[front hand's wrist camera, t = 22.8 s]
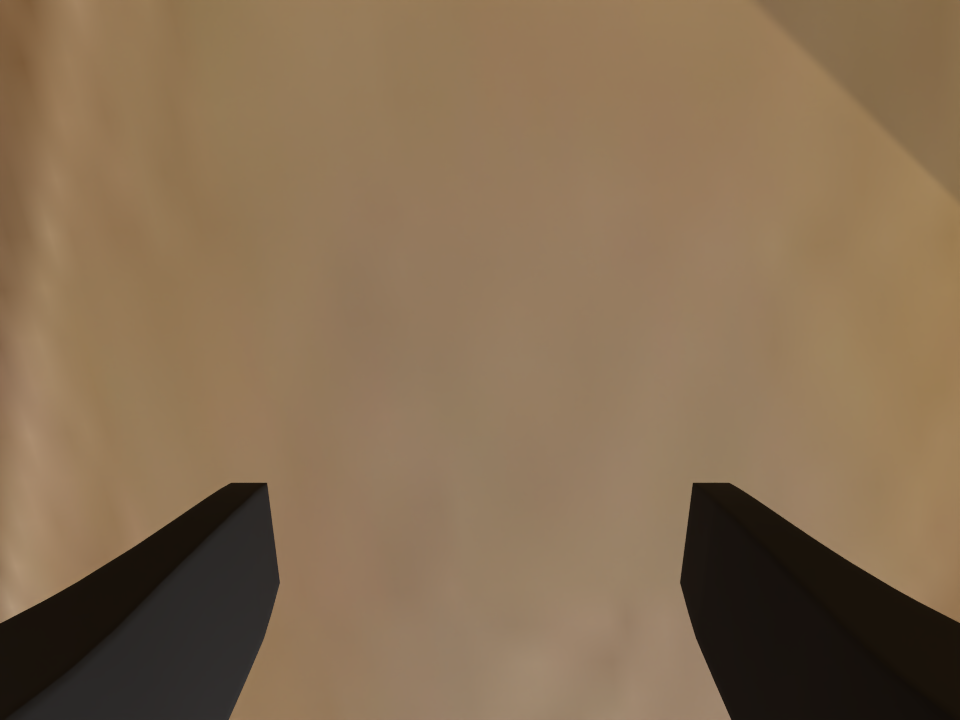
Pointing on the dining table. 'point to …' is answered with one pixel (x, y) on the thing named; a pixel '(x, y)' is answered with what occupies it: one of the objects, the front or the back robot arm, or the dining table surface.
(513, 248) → the dining table surface
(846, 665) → the front robot arm
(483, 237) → the dining table surface
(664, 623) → the dining table surface
